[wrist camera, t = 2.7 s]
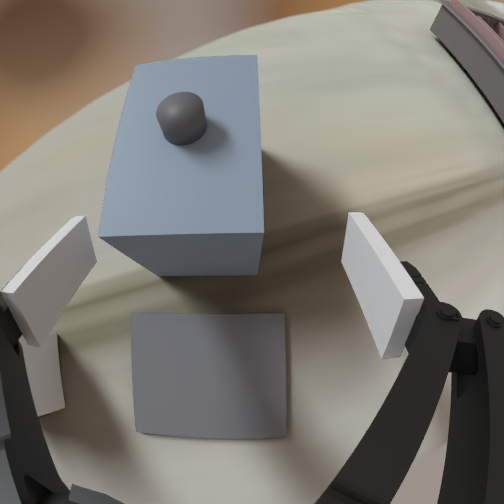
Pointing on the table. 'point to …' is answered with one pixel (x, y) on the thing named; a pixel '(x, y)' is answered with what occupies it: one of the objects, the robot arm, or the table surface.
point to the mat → (209, 375)
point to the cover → (188, 169)
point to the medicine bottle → (44, 375)
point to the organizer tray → (475, 46)
